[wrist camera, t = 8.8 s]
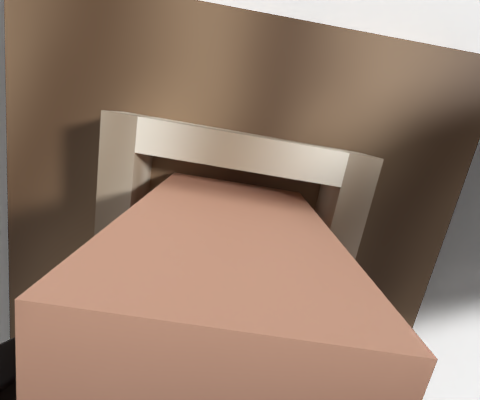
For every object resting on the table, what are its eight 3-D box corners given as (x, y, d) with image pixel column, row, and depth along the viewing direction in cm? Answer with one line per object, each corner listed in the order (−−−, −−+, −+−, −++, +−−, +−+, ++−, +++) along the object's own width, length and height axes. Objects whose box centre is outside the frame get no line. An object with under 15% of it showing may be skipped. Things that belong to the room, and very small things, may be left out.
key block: (264, 355, 13) (301, 713, 5) (155, 340, 13) (21, 689, 5) (299, 192, 11) (437, 359, 3) (174, 172, 11) (15, 298, 3)
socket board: (473, 66, 11) (572, 44, 8) (350, 439, 16) (380, 526, 12) (35, -16, 11) (-59, -78, 7) (33, 397, 15) (-26, 476, 12)
